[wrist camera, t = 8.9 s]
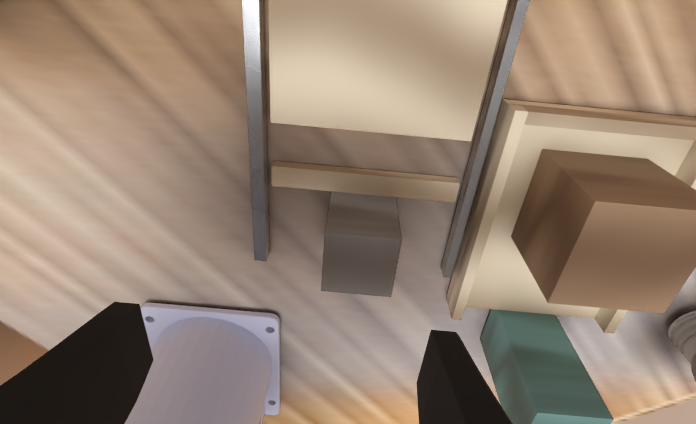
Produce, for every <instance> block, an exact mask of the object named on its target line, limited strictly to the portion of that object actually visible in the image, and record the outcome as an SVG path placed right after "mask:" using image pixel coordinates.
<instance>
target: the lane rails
mask: <svg viewBox="0 0 696 424" xmlns="http://www.w3.org/2000/svg"><path fill="white" fill-rule="evenodd" d="M529 1H530V0H510V4H509V8H508V12H507V16H506V19H505V23H504V27H503V31H502V35H501V39H500V42H499V46H498V50H497V54H496V58H495V62H494V65H493V69H492V73H491V77H490V81H489V85H488V88H487V92H486V96H485V100H484V104H483V108H482V111H481V115H480V119H479V123H478V127H477V131H476V134H475V138H474V142H473V146H472V150H471V154H470V157H469V161H468V165H467V169H466V173H465V177H464V180H463V184H462V188H461V192H460V196H459V200H458V203H457V207H456V211H455V215H454V219H453V223H452V226H451V230H450V234H449V238H448V242H447V246H446V249H445V253H444V257H443V261H442V265H441V269H442V273H443V277H450V278H451V276H452V273H453V269H454V266H455V262H456V259H457V255H458V252H459V248H460V245H461V241H462V238H463V234H464V231H465V227H466V223H467V220H468V216H469V213H470V209H471V206H472V202H473V199H474V195H475V192H476V188H477V185H478V181H479V177H480V174H481V170H482V167H483V163H484V160H485V156H486V153H487V149H488V146H489V142H490V139H491V135H492V132H493V128H494V124H495V121H496V117H497V114H498V110H499V107H500V103H501V100H502V96H503V93H504V89H505V86H506V82H507V79H508V75H509V71H510V68H511V64H512V61H513V57H514V54H515V50H516V47H517V43H518V40H519V36H520V33H521V29H522V26H523V22H524V18H525V15H526V11H527V8H528V4H529ZM242 8H243V28H244V49H245V70H246V91H247V112H248V132H249V153H250V174H251V195H252V216H253V237H254V257H255V260H261V261H267V258H268V255H269V252H270V247H269V204H268V160H267V117H266V74H265V31H264V0H242Z"/></svg>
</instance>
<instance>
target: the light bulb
mask: <svg viewBox="0 0 696 424" xmlns="http://www.w3.org/2000/svg"><path fill="white" fill-rule="evenodd" d="M668 336H669V338H670V339H671V340H672V342H674V343H675V345H676V346H677V347H678V348H679V350H680V351H681V352H682V353H683V354H684V355H685V357H686V358H687V360H688V361H689V362H690V364H691V366H692V373H693V376H694V379H695V381H696V311H692V312H689V313H686V314H684V315H682V316H680V317H679V318H677V319H676V320H675V321H674V322H673V323H672V324H671V325H670V327H669V329H668Z"/></svg>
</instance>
